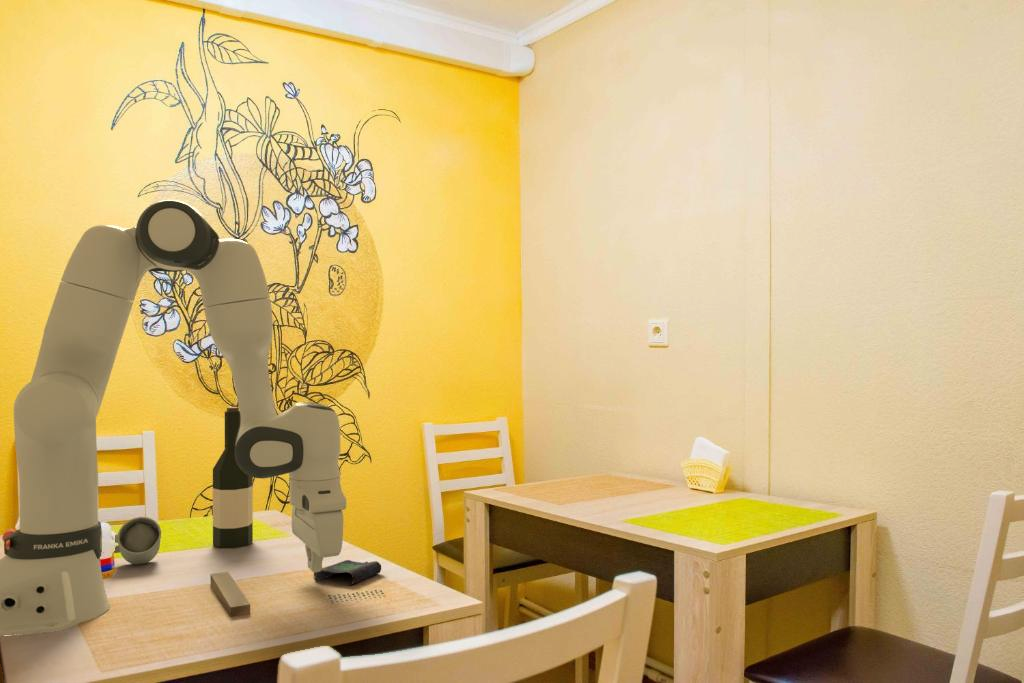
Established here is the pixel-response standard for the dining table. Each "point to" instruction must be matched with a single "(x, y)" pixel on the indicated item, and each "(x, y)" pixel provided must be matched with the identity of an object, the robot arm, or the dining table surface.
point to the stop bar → (229, 594)
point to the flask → (350, 570)
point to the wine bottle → (231, 493)
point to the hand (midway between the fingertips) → (314, 570)
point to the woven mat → (355, 596)
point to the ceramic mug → (138, 540)
